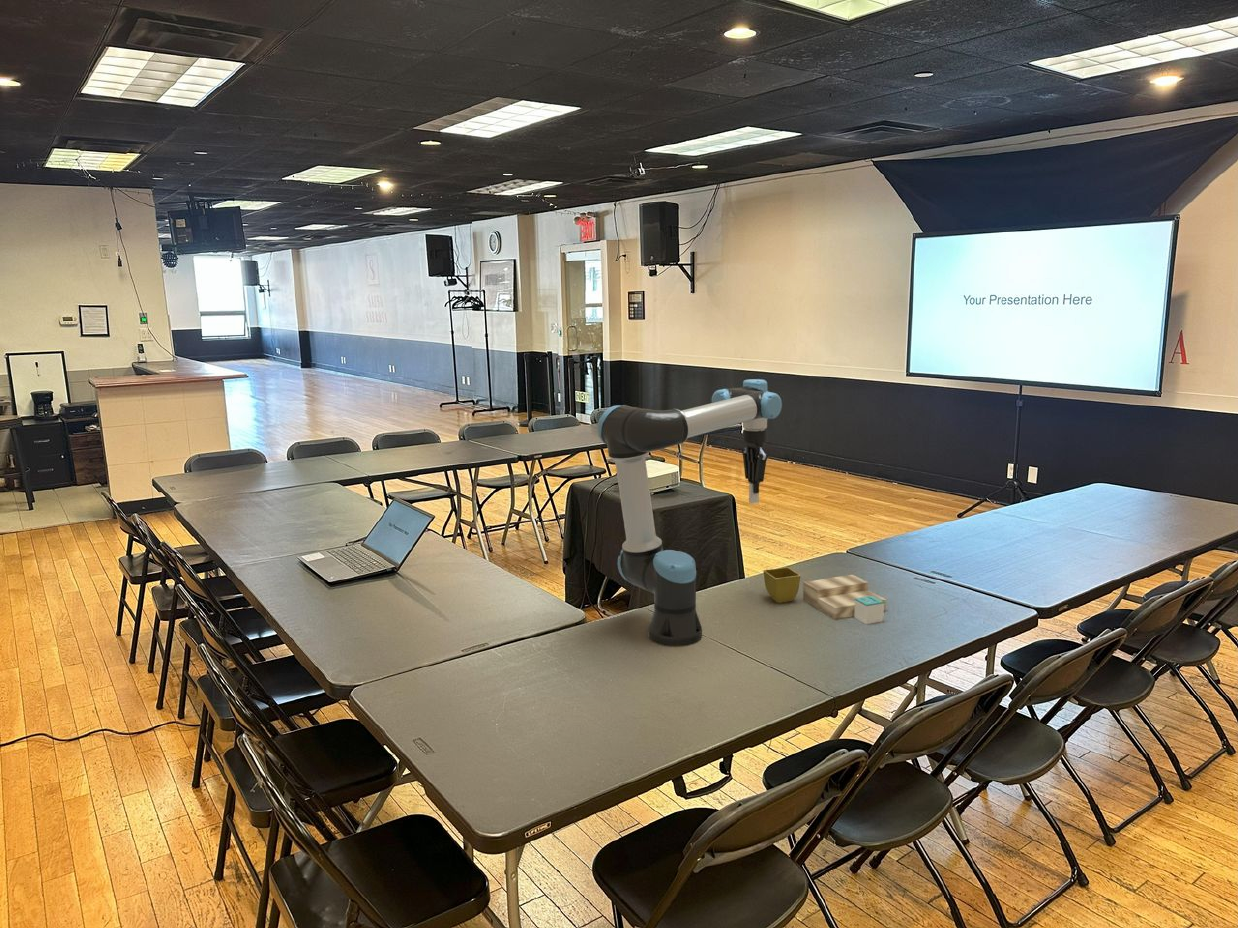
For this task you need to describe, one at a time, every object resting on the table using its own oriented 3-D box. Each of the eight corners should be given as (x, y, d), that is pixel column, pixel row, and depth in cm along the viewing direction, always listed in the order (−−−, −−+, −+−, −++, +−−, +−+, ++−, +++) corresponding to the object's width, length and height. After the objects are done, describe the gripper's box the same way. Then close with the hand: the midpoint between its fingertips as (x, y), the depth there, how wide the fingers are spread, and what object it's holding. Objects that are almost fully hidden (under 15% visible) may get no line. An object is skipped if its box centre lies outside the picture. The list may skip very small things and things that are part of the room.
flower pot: (774, 606, 245) (775, 578, 244) (762, 596, 254) (762, 569, 252) (800, 603, 248) (801, 575, 246) (787, 593, 256) (788, 566, 254)
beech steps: (834, 619, 234) (835, 599, 233) (803, 600, 250) (803, 581, 249) (885, 610, 240) (886, 591, 239) (851, 592, 256) (852, 574, 255)
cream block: (855, 598, 234) (854, 617, 235) (866, 604, 229) (865, 624, 230) (872, 595, 236) (871, 614, 237) (884, 601, 231) (883, 621, 232)
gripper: (776, 431, 245) (774, 505, 249) (755, 425, 257) (754, 497, 261) (754, 432, 242) (753, 508, 247) (734, 427, 254) (733, 499, 259)
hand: (753, 502), depth 254 cm, fingers closed
